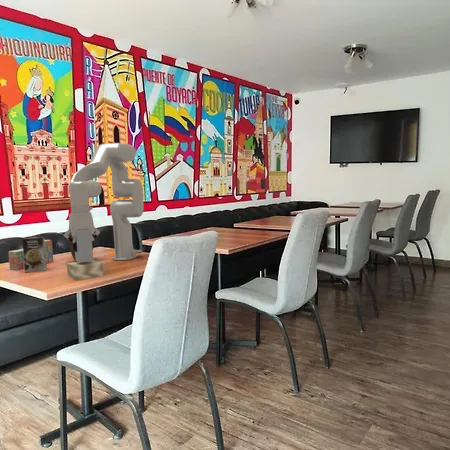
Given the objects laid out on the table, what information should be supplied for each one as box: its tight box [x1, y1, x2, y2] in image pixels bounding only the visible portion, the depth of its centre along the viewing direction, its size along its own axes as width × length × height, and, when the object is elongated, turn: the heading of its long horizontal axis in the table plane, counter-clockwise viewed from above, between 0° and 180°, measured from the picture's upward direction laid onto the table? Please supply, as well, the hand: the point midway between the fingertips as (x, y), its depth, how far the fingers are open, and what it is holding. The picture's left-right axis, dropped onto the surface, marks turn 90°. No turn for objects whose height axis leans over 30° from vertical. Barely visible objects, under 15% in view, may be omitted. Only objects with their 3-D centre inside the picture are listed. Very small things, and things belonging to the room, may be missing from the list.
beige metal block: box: [66, 259, 104, 281], centre depth 185 cm, size 12×12×6 cm
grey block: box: [74, 229, 94, 263], centre depth 184 cm, size 6×7×14 cm
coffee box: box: [22, 236, 48, 273], centre depth 201 cm, size 9×6×16 cm
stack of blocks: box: [8, 239, 55, 271], centre depth 214 cm, size 21×6×12 cm, turn 152°
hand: (83, 250), depth 184 cm, fingers closed on grey block, 6 cm apart
